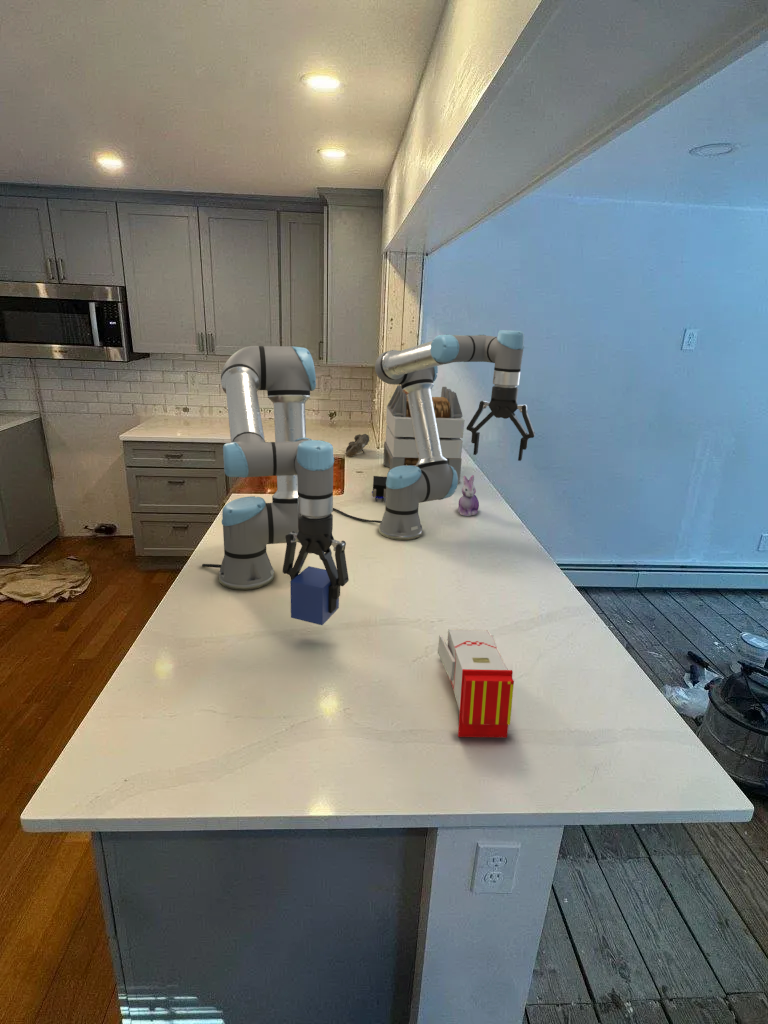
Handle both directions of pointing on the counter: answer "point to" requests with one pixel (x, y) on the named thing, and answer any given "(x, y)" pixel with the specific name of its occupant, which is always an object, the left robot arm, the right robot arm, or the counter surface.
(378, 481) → the figurine character
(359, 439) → the fossil
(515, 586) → the counter surface
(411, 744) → the counter surface
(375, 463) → the counter surface
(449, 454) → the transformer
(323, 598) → the block
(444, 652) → the toy
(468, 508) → the figurine
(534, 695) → the counter surface
